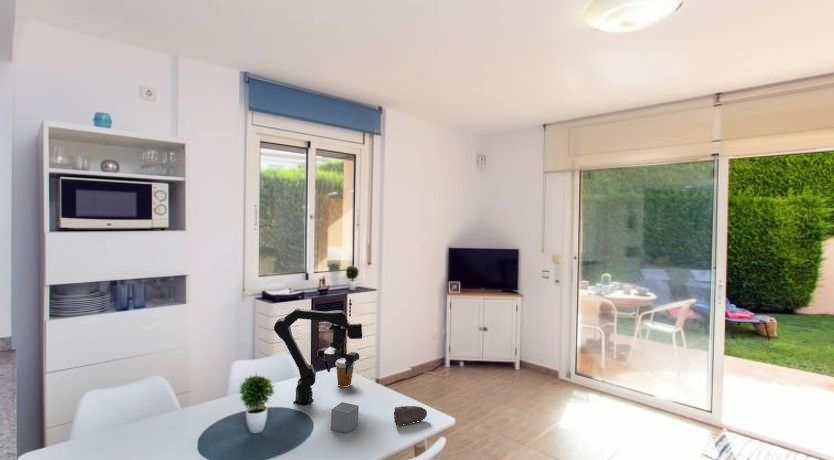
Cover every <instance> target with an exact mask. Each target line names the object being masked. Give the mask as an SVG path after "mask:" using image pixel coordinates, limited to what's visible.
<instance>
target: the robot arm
mask: <svg viewBox="0 0 834 460" xmlns="http://www.w3.org/2000/svg"><path fill="white" fill-rule="evenodd" d="M299 319H300V320H308V321H309V320H311V321H321V322H327V323H329V324H331V325H329V326H328V330H329V331H332V341H330V344H329V347H322V348H321V349H318V350H317V357H319V359H321V360H322V361H323V362H324V364H325V366H326V371H327V372H328V373H330V372H331V369H332V362H333V361H335V360H336V358H345V360H346V361H345V364H346V370H345V375H346V376H347V375H348V373H349V371H350V368H351V366H352V364H353V363H354V362H357V361H358V360H360V354H359V352H355V351H350V352H348V353H347V349H346V344H347V342H348V341H347V340H346V337H348V339H349V340H362V339H363V327H362V326H363V324H362V323H350V321H349V320H348V319H347V315H346V312H345V311H344V310H340V309H339V310H336V309H335V310H329V311H322V310H314V309H313V310H312V309H304V308H303V309H302V308H298V307H297V308H295V309H294V310H293V311H292V312H290V313H288V314H287V315H285V316H284V317H280V318H278V319H277V320H276V322H275V323H274V326H273V330H274V332H275V333H276V335H277V336H278V338H280V340H282V341H283V342H284V343H285V346H286V348H287V349H288V351H289V354H290V356H291V357H292V359H293V361H294V363H295V365H296V366H297V369H298V372H299V377H300V378H299V379H298V381H297V384H296V387H295V400H294V401H293V404H297V405H301V406H307V405H308V404H310V403H312V402H314V398H313V386H314V385H315V383H316V378H317V370H316V369H315V368H314V365H313V363H311V364H309V363H308V362H307V361H306V359H305V357H304V356H303V353H302V351H301V349H300V348H299V345H298V344H297V342H296V340H295V338H294V336H293V332H292V328H291V326H292V325H293V324H294V323H295V322H297V321H298V320H299Z"/></svg>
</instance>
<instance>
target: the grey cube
mask: <svg viewBox="0 0 834 460" xmlns="http://www.w3.org/2000/svg"><path fill="white" fill-rule="evenodd" d="M359 407H360V405H357V404H352V403H347V402H345V401H343V402H340V403H339V404H336V406H335V407H333V408H331V417H330V430H332V431H335V432H340V433H343V432H344V434H349V433H351V432H352V431H353V430H355V428H357V427H359V412H360V411H359V409H360V408H359ZM356 426H357V427H356ZM350 431H351V432H350Z"/></svg>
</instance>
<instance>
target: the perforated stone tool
mask: <svg viewBox="0 0 834 460" xmlns="http://www.w3.org/2000/svg"><path fill="white" fill-rule="evenodd" d="M427 414H428V412H427V410H426V409H425V408H423V407H421V406H417V405H416V406H415V405H405V406H402V405H401V406H395V407H394V411H393V419H394V423H395V425H396V426H404V425H403V424H408V425H410V424H409V423H413V422H417V421H420V422H422V421H423V419H424V420H425V419H426V417H427V416H428V415H427ZM421 420H422V421H421ZM417 423H418V422H417ZM413 424H414V423H413Z"/></svg>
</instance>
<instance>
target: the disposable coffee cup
mask: <svg viewBox="0 0 834 460" xmlns="http://www.w3.org/2000/svg"><path fill="white" fill-rule="evenodd" d="M345 361H346V360H345V358H342V357H340V358H339V359H338V358H337V360H336V361H335V367H336V377H337V386H338V385H340V386H348V385H350V384H351V385H352V379H353V373H354V366H355V364H356V363H355V362H356V361H355V362H354V363H353V364H352V366H351V368H350V371H349V373H348V375H347V376H346V375H345V370H346V364H345ZM351 385H350V386H351ZM340 386H339V387H340ZM348 387H349V386H348Z"/></svg>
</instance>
